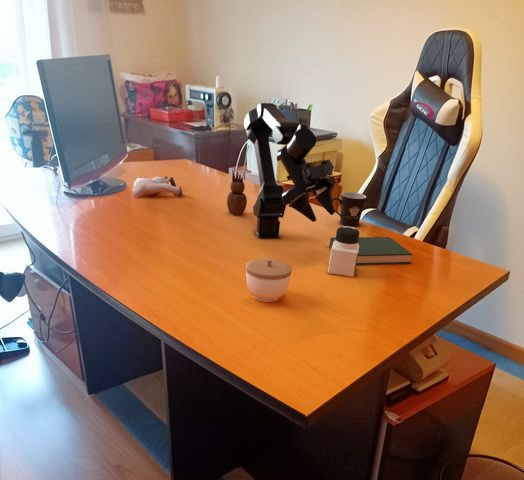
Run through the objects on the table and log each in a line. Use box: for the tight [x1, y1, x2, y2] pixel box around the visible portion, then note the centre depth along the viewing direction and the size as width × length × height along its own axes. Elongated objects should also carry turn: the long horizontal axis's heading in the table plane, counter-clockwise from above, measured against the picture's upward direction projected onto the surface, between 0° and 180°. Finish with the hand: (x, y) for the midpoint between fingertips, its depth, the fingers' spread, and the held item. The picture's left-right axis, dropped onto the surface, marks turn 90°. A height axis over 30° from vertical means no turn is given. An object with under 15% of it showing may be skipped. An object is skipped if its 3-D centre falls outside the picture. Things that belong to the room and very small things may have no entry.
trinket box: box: [245, 258, 293, 303], centre depth 123 cm, size 11×11×9 cm
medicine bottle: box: [327, 225, 360, 278], centre depth 140 cm, size 7×7×12 cm
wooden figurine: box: [226, 169, 248, 216], centre depth 179 cm, size 7×6×15 cm
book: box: [328, 236, 413, 266], centre depth 156 cm, size 20×15×3 cm
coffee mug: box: [332, 191, 367, 228], centre depth 181 cm, size 12×9×10 cm
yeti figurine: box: [132, 175, 183, 197], centre depth 197 cm, size 20×7×20 cm
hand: (324, 217), depth 141 cm, fingers open, 9 cm apart
